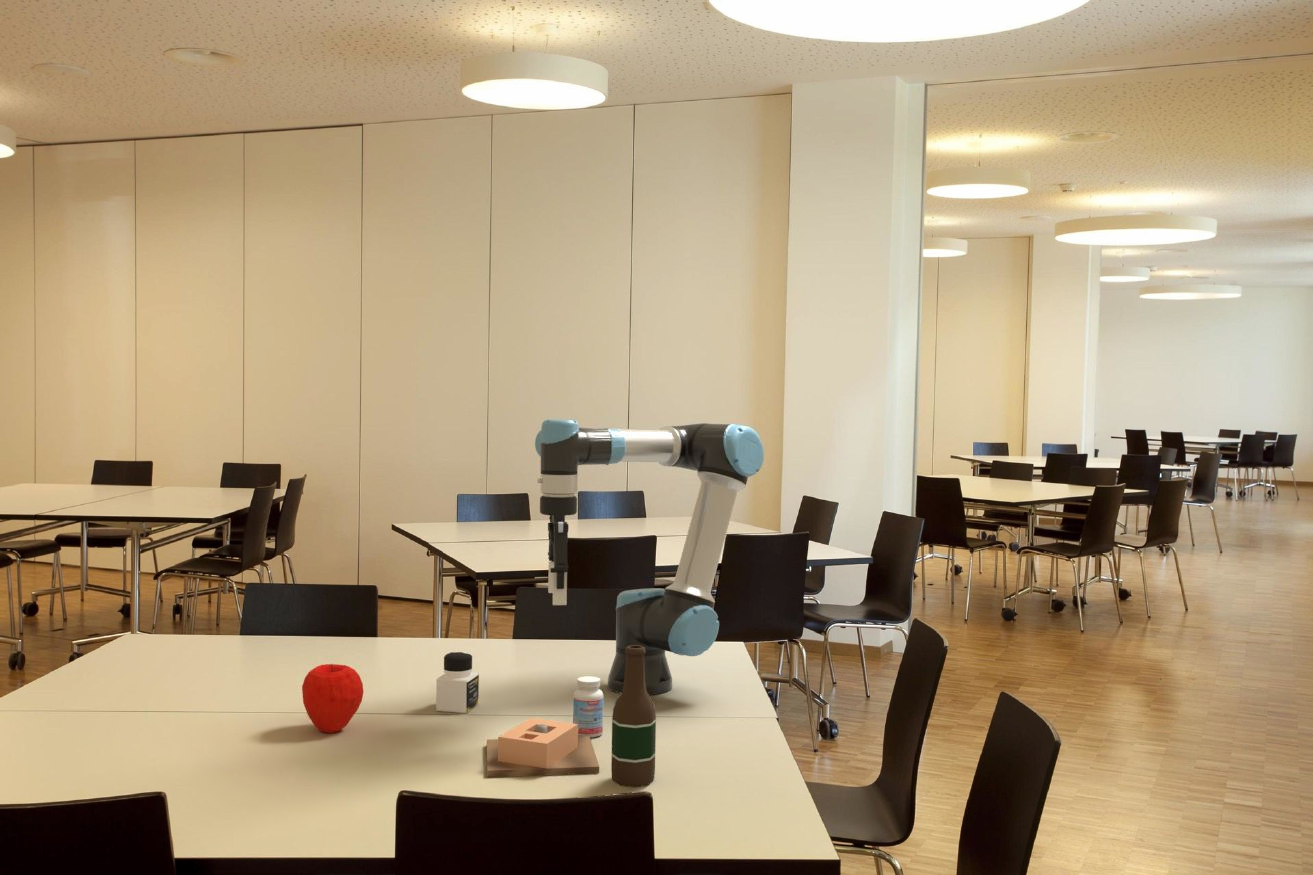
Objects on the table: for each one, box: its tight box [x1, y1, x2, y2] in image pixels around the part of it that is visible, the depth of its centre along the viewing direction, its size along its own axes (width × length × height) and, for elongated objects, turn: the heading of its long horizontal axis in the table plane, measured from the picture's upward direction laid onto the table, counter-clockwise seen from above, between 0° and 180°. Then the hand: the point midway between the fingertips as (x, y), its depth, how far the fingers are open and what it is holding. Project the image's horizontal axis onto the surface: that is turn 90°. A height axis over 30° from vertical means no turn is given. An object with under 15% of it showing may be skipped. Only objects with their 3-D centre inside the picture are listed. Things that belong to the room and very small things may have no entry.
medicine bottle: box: [435, 651, 480, 714], centre depth 239 cm, size 7×7×12 cm
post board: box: [486, 724, 600, 778], centre depth 207 cm, size 20×18×6 cm
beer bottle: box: [610, 645, 657, 788], centre depth 196 cm, size 8×8×24 cm
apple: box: [301, 663, 365, 734], centre depth 222 cm, size 12×12×13 cm
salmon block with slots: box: [497, 717, 578, 768], centre depth 206 cm, size 13×10×4 cm
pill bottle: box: [572, 675, 604, 739], centre depth 223 cm, size 6×6×11 cm
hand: (557, 598), depth 225 cm, fingers open, 13 cm apart
